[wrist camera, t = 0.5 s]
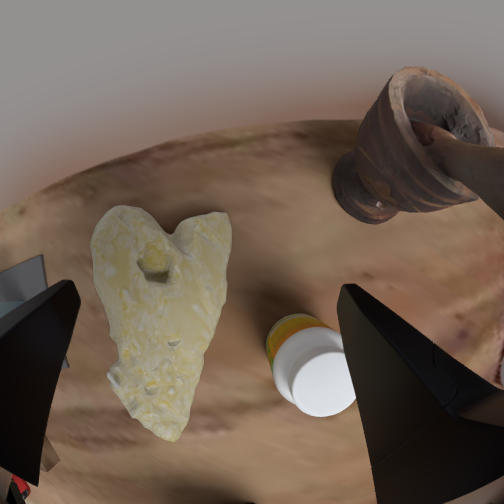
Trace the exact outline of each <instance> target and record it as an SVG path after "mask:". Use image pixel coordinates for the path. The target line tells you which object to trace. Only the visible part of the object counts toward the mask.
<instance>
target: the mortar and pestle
mask: <svg viewBox="0 0 504 504" xmlns="http://www.w3.org/2000/svg"><path fill="white" fill-rule="evenodd" d="M333 181H334V190H335V193H336V197H337V199H338V201H339V202H340V203H341V205H342V207H343V208H344V209H345V210H346V211H347V212H348V213H349V214H350V215H351V216H353V217H355V218H356V219H358V220H359V221H361V222H364V223H368V224H380V223H383V222H386V221H388V220H389V219H391V218H392V217H393V216H395V215H396V214H397V213H398V212H399V211H406V212H433V211H438V210H441V209H445V208H448V207H451V206H453V205H457V204H462V203H466V202H472V201H476V200H478V199H480V198H481V199H482V200H483V201H484V202H485V203H486V204H487V205H488V206H489V207H490V208H491V209H493V210H494V211H495V212H496V213H497V214H498V215H499V216H500V217H501V218H502V219H503V220H504V148H500V147H496V146H495V142H494V138H493V135H492V133H491V131H490V129H489V125H488V123H487V121H486V119H485V118H484V116H483V113H482V110H481V109H480V107H479V106H478V105H477V103H476V102H475V101H474V100H473V99H472V98H471V97H470V96H469V95H468V94H467V92H465V91H464V90H463V89H462V88H461V87H460V86H459V85H458V84H456V83H455V82H454V81H452V80H451V79H449V78H448V77H446V76H444V75H442V74H440V73H439V72H437V71H432V70H429V69H426V68H424V67H405V68H402V69H400V70H399V71H397V72H396V73H395V74H393V75H392V77H391V78H390V79H389V81H388V82H387V84H386V85H385V87H384V88H383V90H382V91H381V93H380V95H379V96H378V99H377V100H376V101H375V103H374V104H373V106H372V107H371V108H370V110H369V111H368V112H367V114H366V116H365V118H364V120H363V122H362V124H361V126H360V129H359V133H358V138H357V143H356V149H355V150H353V151H351V152H349V153H347V154H346V155H344V156H343V157H342V158H341V159H340V160H339V162H338V163H337V165H336V167H335V170H334V179H333Z"/></svg>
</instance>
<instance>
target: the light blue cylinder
mask: <svg viewBox="0 0 504 504" xmlns="http://www.w3.org/2000/svg"><path fill="white" fill-rule="evenodd" d="M24 302H25V301H14V302H2V303H0V318H1V317H3V316H4V315H6V314H7V313H9V312H10V311H12V310H13V309H15V308H16V307H18V306H20V305H21V304H23V303H24Z"/></svg>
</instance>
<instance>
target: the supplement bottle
mask: <svg viewBox="0 0 504 504" xmlns="http://www.w3.org/2000/svg"><path fill="white" fill-rule="evenodd" d="M266 351H267V356H268V359H269V363H270V366H271V370H272V374H273V378H274V382H275V384H276V387H277V389H278V390H279V392H280V393H281V394H282V396H283V397H284V398H286V399H287V400H288V401H290V402H292V403H294V404H296V405H297V407H298V408H299V409H300V410H301V411H303V412H304V413H306V414H309V415H312V416H317V417H325V416H330V415H334V414H337V413H339V412H341V411H342V410H344V409H345V408H347V407H348V406H349V405H350V404H351V403H352V402H353V401H354V400H355V398H356V396H355V392H354V388H353V384H352V380H351V377H350V373H349V369H348V366H347V362H346V358H345V354H344V350H343V344H342V338H341V334H340V333H338V332H337V331H335V330H333V329H332V328H330V327H329V326H327V325H326V324H324V323H322V322H321V321H319V320H318V319H316V318H314V317H312V316H310V315H306V314H292V315H289V316H286V317H284V318H282V319H281V320H279V321H278V322H277V323H276V324H275V325H274V326H273V327H272V329H271V330H270V332H269V334H268V337H267V341H266Z"/></svg>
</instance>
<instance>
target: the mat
mask: <svg viewBox="0 0 504 504" xmlns="http://www.w3.org/2000/svg"><path fill="white" fill-rule="evenodd" d="M47 288H48V285H47V280H46V274H45V268H44V261H43V255H39V256H37V257H35V258H32V259H30V260H28V261H25V262H23V263H21V264H19V265H17V266H14V267H12V268H10V269H8V270H6V271H4V272H2V273H0V303H2V302H14V301H25V302H26V301H28V300H29V299H31V298H32V297H34V296H36V295H37V294H39V293H41V292H42V291H44V290H46V289H47ZM68 367H69V364H68V361H67V359H66V356H65V359H64V362H63V365H62V368H68Z"/></svg>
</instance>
